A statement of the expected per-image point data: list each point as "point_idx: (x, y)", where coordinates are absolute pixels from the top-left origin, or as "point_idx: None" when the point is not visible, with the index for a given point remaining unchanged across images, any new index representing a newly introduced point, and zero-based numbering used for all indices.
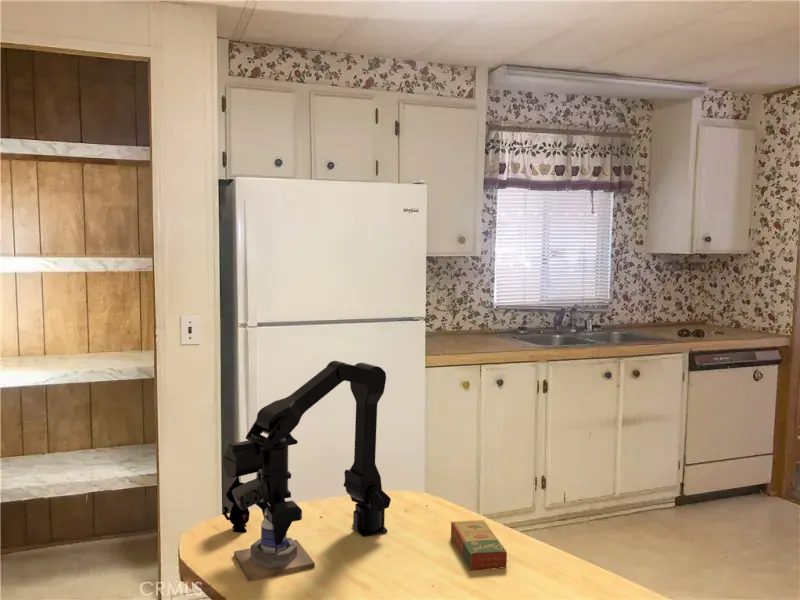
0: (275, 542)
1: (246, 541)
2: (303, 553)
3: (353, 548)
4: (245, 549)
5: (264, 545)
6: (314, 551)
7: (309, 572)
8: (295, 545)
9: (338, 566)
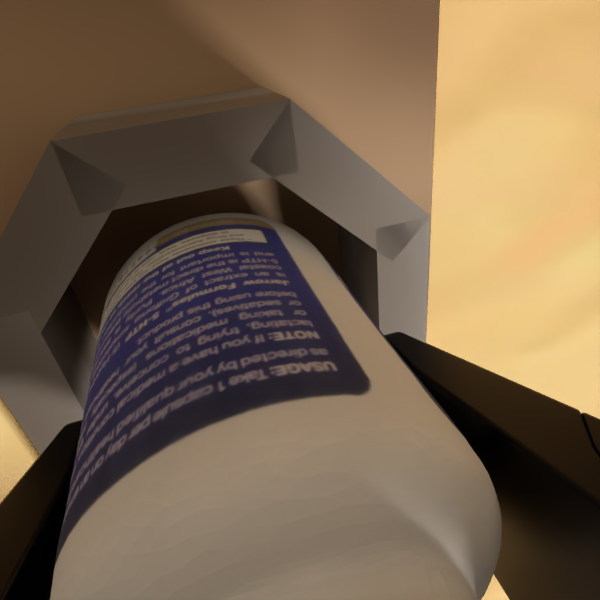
0: (52, 446)
1: (597, 89)
2: None
3: None
4: (432, 53)
5: (145, 283)
6: None
7: (19, 474)
8: None
9: None
